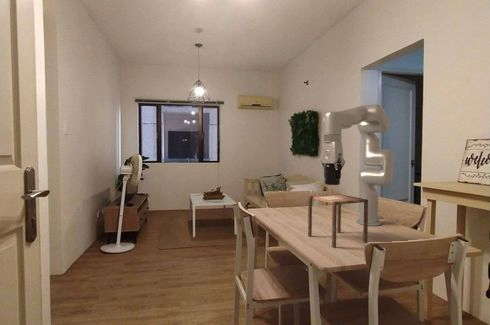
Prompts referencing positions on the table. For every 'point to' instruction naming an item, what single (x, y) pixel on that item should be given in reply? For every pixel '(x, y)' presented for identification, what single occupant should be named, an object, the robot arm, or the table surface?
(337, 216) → the stand
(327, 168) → the supplement bottle
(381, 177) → the robot arm
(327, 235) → the table surface
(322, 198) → the trapdoor
